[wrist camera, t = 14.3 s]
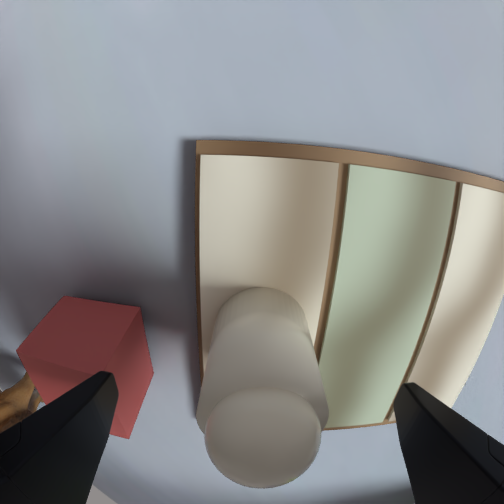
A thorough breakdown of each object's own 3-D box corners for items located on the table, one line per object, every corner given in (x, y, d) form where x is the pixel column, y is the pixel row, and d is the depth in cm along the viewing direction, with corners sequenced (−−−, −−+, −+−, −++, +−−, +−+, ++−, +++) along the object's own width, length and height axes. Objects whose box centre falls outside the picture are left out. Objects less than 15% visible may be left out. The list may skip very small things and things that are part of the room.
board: (519, 186, 10) (530, 190, 10) (444, 406, 15) (449, 414, 14) (199, 140, 10) (195, 140, 10) (206, 419, 15) (204, 430, 14)
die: (100, 376, 8) (10, 348, 8) (131, 443, 10) (49, 416, 10) (143, 302, 12) (62, 290, 12) (156, 373, 14) (84, 357, 14)
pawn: (312, 288, 11) (361, 437, 5) (300, 363, 13) (323, 505, 6) (214, 284, 11) (174, 435, 5) (216, 360, 13) (192, 503, 6)
